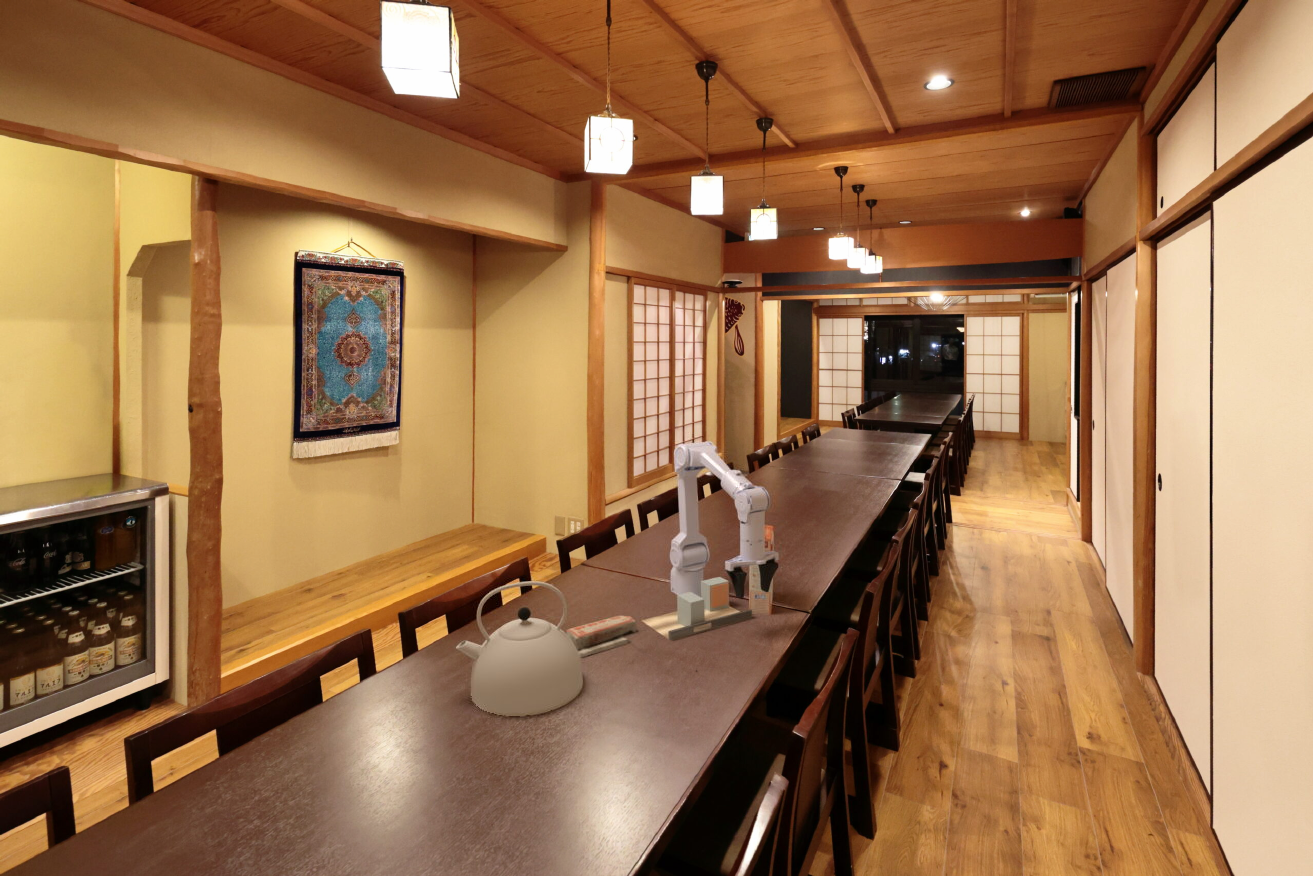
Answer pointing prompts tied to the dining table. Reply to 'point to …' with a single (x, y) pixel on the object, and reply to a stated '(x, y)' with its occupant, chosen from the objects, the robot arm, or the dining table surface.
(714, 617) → the shelf board
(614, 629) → the packaged product
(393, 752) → the dining table surface
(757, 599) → the cracker box
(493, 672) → the kettle
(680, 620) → the turn carton
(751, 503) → the robot arm
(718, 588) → the faced carton
